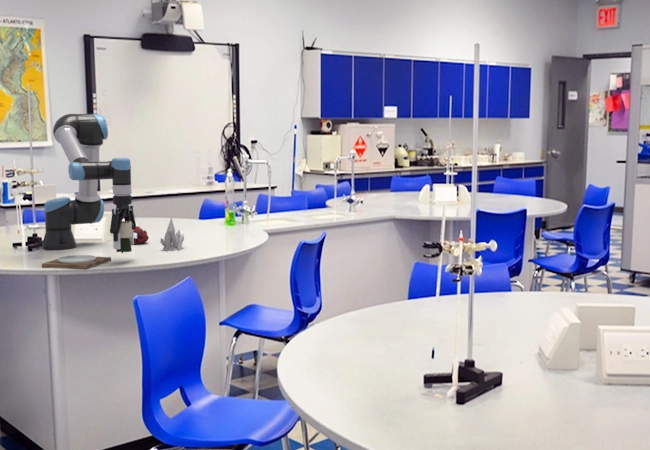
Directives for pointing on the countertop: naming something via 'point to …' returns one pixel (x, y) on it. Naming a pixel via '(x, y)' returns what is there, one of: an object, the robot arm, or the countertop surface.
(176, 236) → the crystal
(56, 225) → the robot arm
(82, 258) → the saucer
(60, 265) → the stand
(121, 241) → the character mug
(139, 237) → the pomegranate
